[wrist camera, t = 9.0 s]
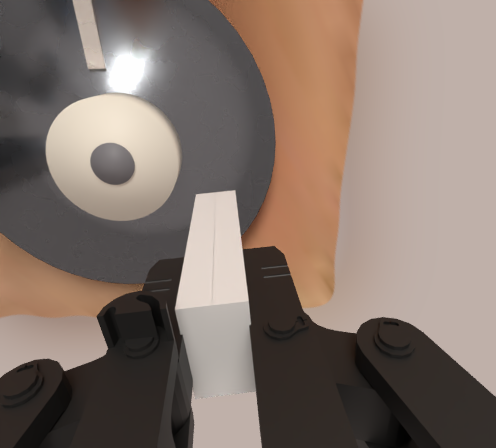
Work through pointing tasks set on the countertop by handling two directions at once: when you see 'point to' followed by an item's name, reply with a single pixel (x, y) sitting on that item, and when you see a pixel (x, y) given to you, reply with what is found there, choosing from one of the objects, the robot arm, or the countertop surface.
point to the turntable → (139, 84)
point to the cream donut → (114, 155)
